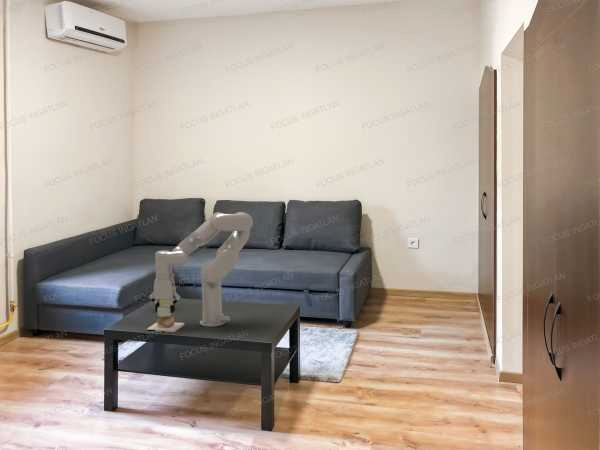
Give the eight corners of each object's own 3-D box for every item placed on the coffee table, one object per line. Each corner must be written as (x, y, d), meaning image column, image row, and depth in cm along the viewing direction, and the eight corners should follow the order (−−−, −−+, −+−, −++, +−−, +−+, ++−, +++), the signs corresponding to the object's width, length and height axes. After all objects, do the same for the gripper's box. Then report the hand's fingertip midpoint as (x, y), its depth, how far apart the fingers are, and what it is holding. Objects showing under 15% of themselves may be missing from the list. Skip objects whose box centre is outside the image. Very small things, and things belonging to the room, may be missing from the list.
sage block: (172, 312, 277) (172, 304, 277) (170, 316, 271) (169, 308, 271) (160, 313, 277) (159, 305, 277) (157, 316, 271) (157, 308, 271)
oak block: (174, 324, 277) (174, 316, 277) (169, 327, 271) (168, 319, 271) (162, 323, 278) (162, 315, 278) (157, 327, 272) (157, 319, 272)
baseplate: (184, 324, 279) (184, 323, 279) (174, 332, 268) (174, 330, 268) (157, 323, 282) (157, 321, 282) (147, 330, 270) (146, 328, 270)
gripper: (183, 275, 274) (184, 311, 276) (150, 274, 277) (151, 309, 279) (177, 278, 267) (178, 315, 269) (143, 277, 270) (145, 313, 272)
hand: (165, 311), depth 274 cm, fingers closed on sage block, 6 cm apart
